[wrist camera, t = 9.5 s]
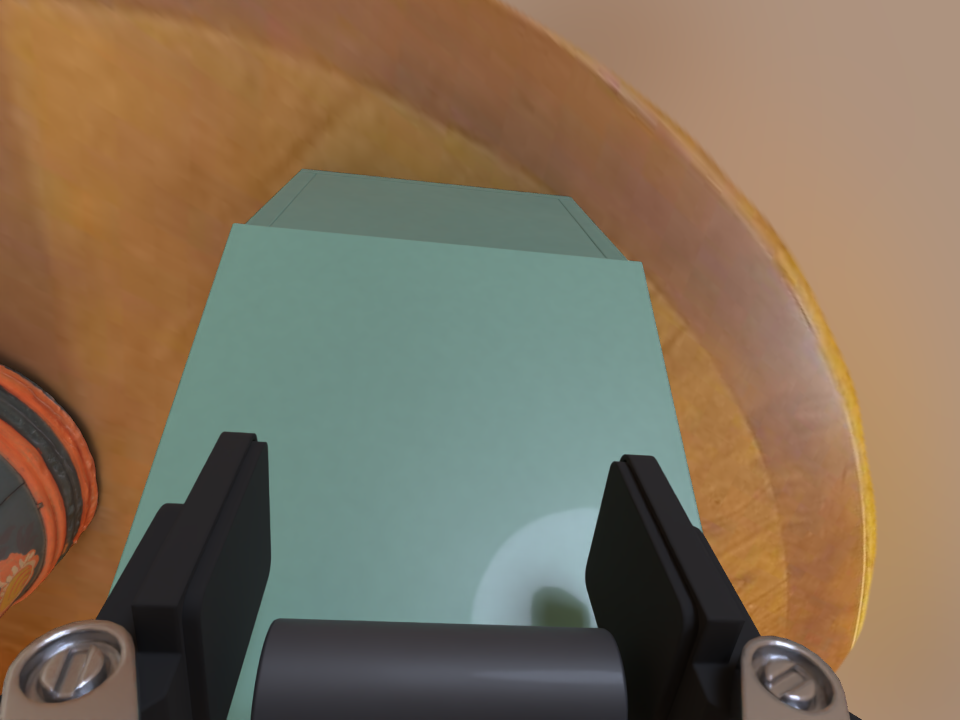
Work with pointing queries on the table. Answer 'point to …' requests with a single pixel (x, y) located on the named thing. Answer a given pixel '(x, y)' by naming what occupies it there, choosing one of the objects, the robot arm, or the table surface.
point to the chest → (434, 214)
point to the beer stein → (38, 485)
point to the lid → (424, 468)
